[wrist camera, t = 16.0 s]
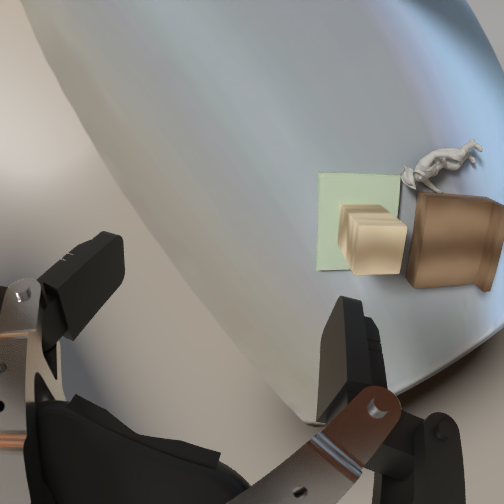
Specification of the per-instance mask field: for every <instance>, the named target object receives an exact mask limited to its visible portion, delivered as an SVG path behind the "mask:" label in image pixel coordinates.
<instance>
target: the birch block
mask: <svg viewBox="0 0 504 504" xmlns="http://www.w3.org/2000/svg"><path fill="white" fill-rule="evenodd" d="M406 233H407V226H406V225H405V224H404V223H402V222H401V221H400V220H399V219H398V218H396V217H395V216H394V215H393V214H391V213H390V212H389V211H388V210H386V209H385V208H384V207H383V206H381V205H377V204H349V203H340V216H339V230H338V242H337V244H338V246H339V248H340V250H341V251H342V253H343V255H344V257H345V259H346V261H347V263H348V265H349V267H350V269H351V271H352V273H353V275H370V274H399V273H400V268H401V262H402V257H403V251H404V245H405V239H406Z"/></svg>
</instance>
